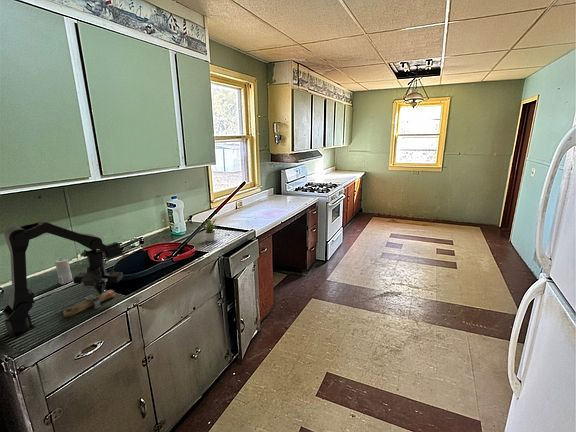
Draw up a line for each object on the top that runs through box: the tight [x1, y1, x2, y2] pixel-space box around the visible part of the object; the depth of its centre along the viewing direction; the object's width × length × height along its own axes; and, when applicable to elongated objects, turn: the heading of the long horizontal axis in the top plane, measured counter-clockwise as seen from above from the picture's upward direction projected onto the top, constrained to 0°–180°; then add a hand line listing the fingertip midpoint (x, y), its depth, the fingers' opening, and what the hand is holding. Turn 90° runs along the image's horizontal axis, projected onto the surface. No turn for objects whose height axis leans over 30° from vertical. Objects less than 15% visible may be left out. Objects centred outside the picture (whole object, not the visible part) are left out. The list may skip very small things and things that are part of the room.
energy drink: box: [54, 257, 74, 285], centre depth 150 cm, size 5×5×12 cm
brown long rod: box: [62, 289, 116, 318], centre depth 129 cm, size 20×4×3 cm, turn 150°
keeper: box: [85, 294, 101, 310], centre depth 130 cm, size 2×7×4 cm, turn 58°
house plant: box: [199, 217, 218, 242], centre depth 209 cm, size 14×14×16 cm
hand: (101, 294), depth 136 cm, fingers closed
